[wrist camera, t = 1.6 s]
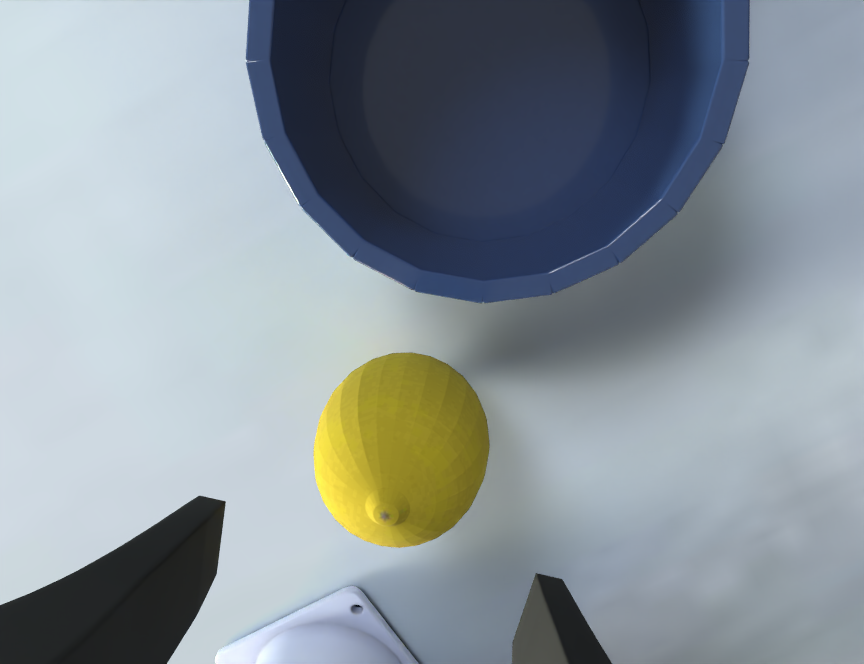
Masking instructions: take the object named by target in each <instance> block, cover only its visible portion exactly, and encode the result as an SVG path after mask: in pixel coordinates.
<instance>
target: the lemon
mask: <svg viewBox="0 0 864 664" xmlns="http://www.w3.org/2000/svg"><path fill="white" fill-rule="evenodd" d="M488 454H489V435H488V427H487V419H486V416H485V413H484V411H483V408H482V406H481V403H480V401H479V399H478V396H477V394H476V393H475V391H474V390H473V389H472V387H471V386H470V385H469V383H468V382H467V381H466V380H465V378H464V377H463V376H462V375H461V374H460V373H458V372H457V371H456V370H454V369H453V368H452V367H451V366H449V365H448V364H446V363H444V362H442V361H440V360H437V359H435V358H433V357H431V356H426V355H421V354H416V353H392V354H389V355H385V356H382V357H379V358H375V359H373V360H371V361H369V362H367V363H366V364H364V365H362V366H360V367H359V368H357V369H355V370H354V371H353V372H351V373H350V374H349V375H348V377H347V378H346V379H345V380H344V381H343V382H342V383H341V384H340V385H339V386H338V387H337V388H336V389H335V390H334V392H333V393H332V395H331V397H330V399H329V401H328V403H327V405H326V407H325V408H324V410H323V412H322V415H321V417H320V420H319V424H318V429H317V434H316V439H315V444H314V466H315V478H316V482H317V485H318V488H319V491H320V494H321V496H322V499H323V502H324V503H325V505H326V506H327V508H328V509H329V511H330V512H331V513H332V515H333V516H334V518H335V519H336V520H337V521H338V522H339V523H340V524H341V525H342V526H343V527H344V528H345V529H347V530H348V531H349V532H350V533H352V534H354V535H356V536H357V537H359V538H361V539H363V540H364V541H368V542H371V543H374V544H377V545H380V546H388V547H398V548H400V547H408V546H416V545H419V544H422V543H425V542H428V541H430V540H433V539H435V538H437V537H439V536H440V535H442V534H443V533H445V532H446V531H448V530H449V529H451V528H452V527H453V526H454V525H455V524H456V523H457V522H458V521H459V520H460V519H461V518H462V516H463V515H464V514H465V513H466V512H467V511H468V510H469V508H470V506H471V505H472V503H473V501H474V499H475V497H476V494H477V492H478V490H479V488H480V486H481V484H482V482H483V479H484V476H485V472H486V466H487V460H488Z"/></svg>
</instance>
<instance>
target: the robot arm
mask: <svg viewBox="0 0 864 664" xmlns="http://www.w3.org/2000/svg"><path fill="white" fill-rule="evenodd" d="M225 503H226V502H225V501H221V500H217V499H212V498H208V497H204V496H198V497H196V498H195V499H193V500H191V501H190V502H188V503H187V504H185V505H184V506H182V507H181V508H179V509H178V510H176V511H175V512H173V513H172V514H170V515H169V516H167V517H166V518H164V519H163V520H161V521H160V522H158V523H157V524H155V525H154V526H152V527H151V528H149V529H148V530H146V531H144V532H143V533H141V534H140V535H138V536H136V537H135V538H133V539H132V540H130V541H128V542H127V543H125V544H124V545H122V546H120V547H119V548H117V549H115V550H114V551H112V552H110V553H108V554H106V555H105V556H103V557H101V558H99V559H98V560H96V561H94V562H92V563H91V564H89V565H87V566H85V567H83V568H82V569H80V570H78V571H76V572H74V573H72V574H70V575H68V576H66V577H64V578H62V579H60V580H58V581H56V582H54V583H51V584H49V585H47V586H45V587H43V588H41V589H39V590H36V591H34V592H32V593H30V594H27V595H25V596H22V597H20V598H17V599H15V600H12V601H10V602H7V603H5V604H2V605H0V664H167V662H168V661H169V659H170V657H171V656H172V654H173V653H174V651H175V650H176V648H177V646H178V645H179V643H180V642H181V640H182V638H183V637H184V635H185V634H186V632H187V630H188V629H189V627H190V626H191V624H192V622H193V621H194V619H195V618H196V616H197V614H198V612H199V610H200V608H201V606H202V604H203V602H204V600H205V598H206V595H207V593H208V591H209V589H210V587H211V585H212V583H213V581H214V578H215V576H216V574H217V567H218V559H219V551H220V543H221V535H222V527H223V519H224V511H225ZM356 604H357V605H360V606H361V607H360V608H358V607H355V606H354V605H356ZM215 662H216V664H419V663H418V662H417V661H416V660H415V658H414V657H413V656H412V654H411V653H410V652H409V651H408V649H407V648H406V647H405V646H404V644H403V643H402V642H401V641H400V639H399V638H398V637H397V635H396V634H395V633H394V632H393V630H392V629H391V628H390V627H389V625H388V624H387V623H386V621H385V620H384V619H383V618H382V616H381V615H380V614H379V613H378V611H377V610H376V609H375V607H374V606H373V605H372V604H371V602H370V601H369V600H368V599H367V597H366V596H365V595H364V593H363V592H362V591H361V590H360V589H359V588H357V587H355V586H347V587H344V588H342V589H340V590H338V591H336V592H334V593H332V594H330V595H328V596H326V597H324V598H322V599H320V600H318V601H316V602H314V603H312V604H310V605H308V606H306V607H304V608H302V609H300V610H298V611H296V612H294V613H292V614H290V615H288V616H286V617H284V618H282V619H280V620H278V621H276V622H274V623H272V624H270V625H268V626H266V627H264V628H262V629H260V630H258V631H256V632H254V633H252V634H250V635H247V636H245V637H243V638H241V639H239V640H237V641H235V642H233V643H231V644H229V645H227V646H225V647H223V648H221V649H220V650H219V651H218V653H217V655H216V658H215ZM512 664H612V663H611V661H610V659H609V658H608V656H607V655H606V653H605V651H604V650H603V648H602V647H601V645H600V643H599V642H598V640H597V639H596V637H595V635H594V634H593V632H592V630H591V628H590V627H589V625H588V623H587V622H586V620H585V618H584V616H583V615H582V613H581V611H580V609H579V608H578V606H577V604H576V602H575V601H574V599H573V597H572V595H571V593H570V592H569V590H568V588H567V587H566V585H565V583H564V581H563V580H562V579H559V578H554V577H550V576H546V575H541V574H537V573H536V574H535V577H534V580H533V583H532V586H531V589H530V592H529V595H528V598H527V601H526V604H525V607H524V610H523V613H522V616H521V619H520V622H519V625H518V628H517V631H516V634H515V637H514V640H513V646H512Z"/></svg>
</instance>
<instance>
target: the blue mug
mask: <svg viewBox="0 0 864 664" xmlns="http://www.w3.org/2000/svg"><path fill="white" fill-rule="evenodd" d="M749 16H750V0H249V15H248V31H247V47H246V61H247V62H246V66H247V70H248V75H249V79H250V84H251V88H252V93H253V97H254V102H255V106H256V111H257V115H258V120H259V124H260V129H261V133H262V138H263V140H265V144H266V146H267V148H268V150H269V152H270V154H271V155H272V157H273V159H274V161H275V163H276V164H277V166H278V168H279V170H280V172H281V174H282V175H283V177H284V179H285V181H286V183H287V184H288V186H289V188H290V190H291V192H292V194H293V195H294V197H295V199H296V201H297V203H298V205H299V206H301V207H302V210H303V211H304V212H305V213H306V214H307V215H308V216H309V217H310V218H311V219H312V220H313V221H314V222H315V223H316V224H317V225H318V226H319V227H320V228H321V229H322V230H323V231H324V232H325V233H326V234H327V235H328V236H329V237H330V238H331V239H332V240H333V241H334V242H335V243H337V244H338V245H339V246H340V247H341V248H342V249H343V250H344V251H345V252H346V253H347V254H348V255H349V256H350V257H353V259H354V260H355V261H357V262H359V263H361V264H363V265H365V266H367V267H369V268H371V269H373V270H375V271H376V272H378V273H380V274H382V275H384V276H386V277H388V278H390V279H392V280H394V281H396V282H398V283H400V284H401V285H403V286H405V287H407V288H409V289H411V290H415V291H416V292H420V293H426V294H432V295H437V296H443V297H448V298H454V299H460V300H465V301H471V302H476V303H482V302H483V303H491V302H499V301H507V300H515V299H523V298H530V297H538V296H546V295H551V294H552V293H557V292H559V291H562V290H564V289H566V288H568V287H571V286H573V285H575V284H577V283H579V282H582V281H584V280H586V279H588V278H591V277H593V276H595V275H597V274H599V273H602V272H604V271H606V270H608V269H611V268H613V267H615V266H617V265H618V264H619V263H622V262H623V261H624V260H625V259H627V258H628V257H629V256H630V255H631V254H632V253H634V252H635V251H636V250H637V249H638V248H639V247H641V246H642V245H643V244H644V243H645V242H646V241H648V240H649V239H650V238H651V237H652V236H653V235H655V234H656V233H657V232H658V231H659V230H660V229H662V228H663V227H664V226H665V225H666V224H667V223H668V222H670V221H671V220H672V219H673V218H674V217H675V216H676V215H677V212H680V211H681V209H682V208H683V206H684V205H685V203H686V202H687V200H688V199H689V197H690V196H691V194H692V193H693V191H694V190H695V188H696V186H697V185H698V183H699V182H700V180H701V179H702V177H703V176H704V174H705V173H706V171H707V170H708V168H709V167H710V165H711V164H712V162H713V160H714V159H715V157H716V156H717V154H718V153H719V151H720V150H721V148H722V146H723V145H722V144H724V143H725V141H726V137H727V134H728V131H729V128H730V124H731V121H732V118H733V114H734V111H735V108H736V105H737V101H738V98H739V95H740V91H741V88H742V85H743V82H744V78H745V75H746V72H747V69H748V65H749V62H748V60H749Z"/></svg>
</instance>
